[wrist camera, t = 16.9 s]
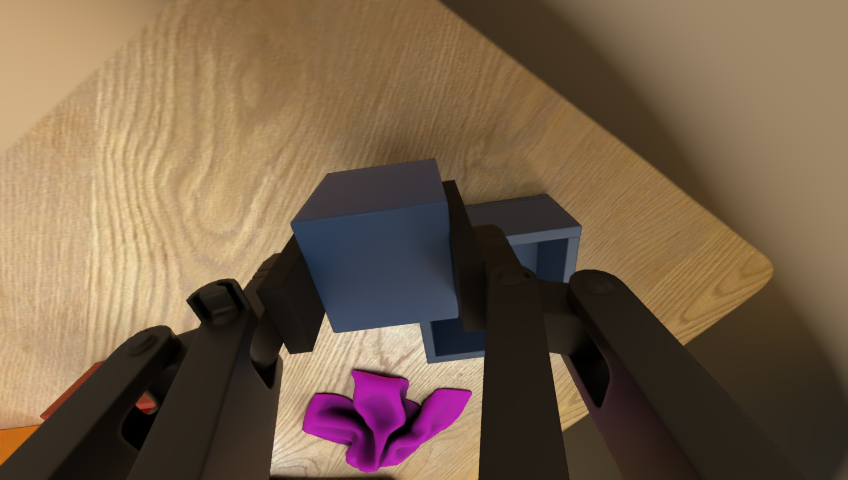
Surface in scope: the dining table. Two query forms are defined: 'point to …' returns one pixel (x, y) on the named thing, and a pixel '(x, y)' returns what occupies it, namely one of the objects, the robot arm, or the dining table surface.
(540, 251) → the blue bin
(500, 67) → the dining table surface
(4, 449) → the orange juice
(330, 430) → the cloth
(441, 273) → the blue block
